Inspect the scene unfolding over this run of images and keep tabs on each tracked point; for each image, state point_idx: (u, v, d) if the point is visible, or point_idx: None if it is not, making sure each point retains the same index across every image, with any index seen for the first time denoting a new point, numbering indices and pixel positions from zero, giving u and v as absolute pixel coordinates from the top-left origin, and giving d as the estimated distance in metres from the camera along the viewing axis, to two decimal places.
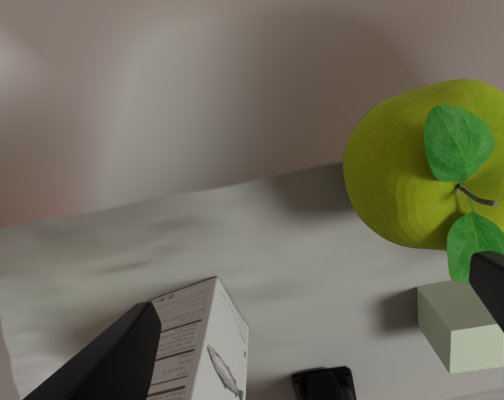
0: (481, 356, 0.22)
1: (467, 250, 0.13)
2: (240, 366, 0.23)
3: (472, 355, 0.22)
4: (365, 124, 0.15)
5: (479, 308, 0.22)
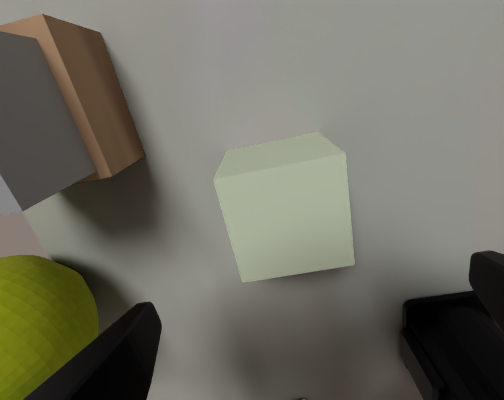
0: (310, 223, 0.11)
1: None
2: None
3: (306, 239, 0.11)
4: None
5: None
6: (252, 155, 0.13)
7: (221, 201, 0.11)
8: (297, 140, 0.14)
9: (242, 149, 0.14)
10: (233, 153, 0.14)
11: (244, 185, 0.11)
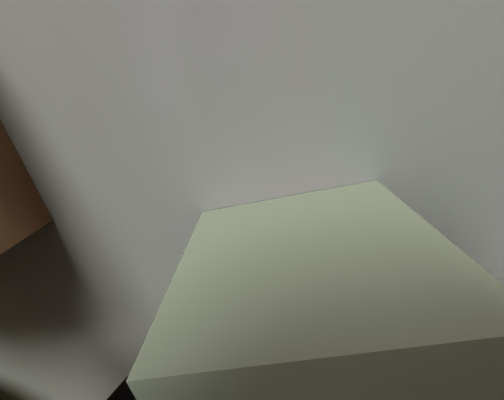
0: None
1: None
2: None
3: None
4: None
5: None
6: (248, 248, 0.06)
7: None
8: (342, 205, 0.07)
9: (230, 215, 0.07)
10: (211, 227, 0.07)
11: (220, 395, 0.04)
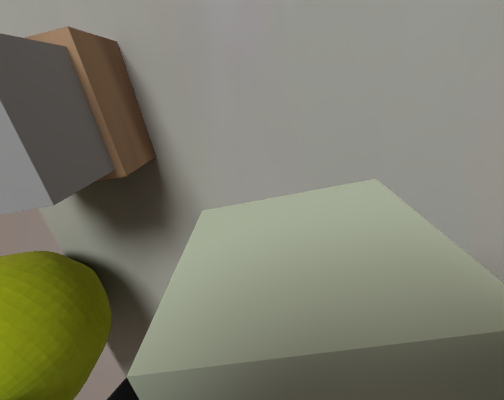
0: None
1: None
2: None
3: None
4: None
5: None
6: (248, 246, 0.06)
7: None
8: (341, 203, 0.07)
9: (230, 213, 0.07)
10: (211, 226, 0.07)
11: (220, 390, 0.04)
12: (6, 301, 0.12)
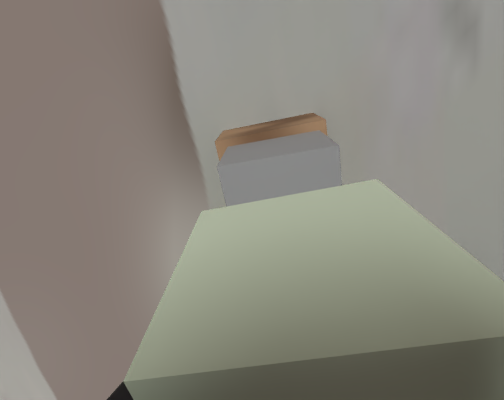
0: None
1: None
2: None
3: None
4: None
5: None
6: (248, 247, 0.06)
7: None
8: (342, 204, 0.07)
9: (229, 214, 0.07)
10: (210, 227, 0.07)
11: (219, 395, 0.03)
12: None
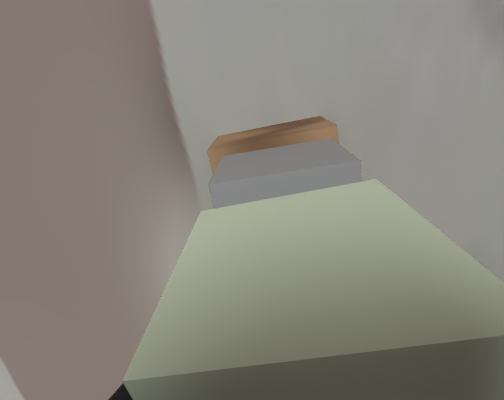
0: None
1: None
2: None
3: None
4: None
5: None
6: (247, 246, 0.06)
7: None
8: (341, 204, 0.07)
9: (229, 214, 0.07)
10: (210, 226, 0.07)
11: (218, 395, 0.03)
12: None
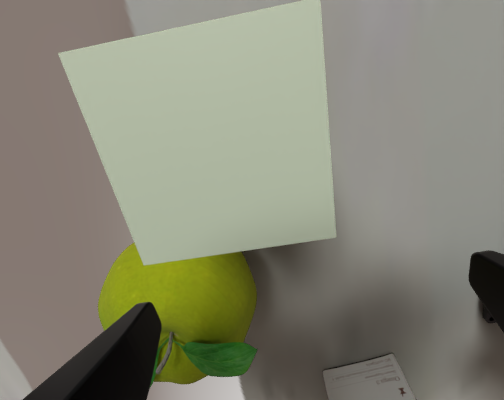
0: (255, 155, 0.06)
1: (212, 366, 0.14)
2: None
3: (249, 187, 0.06)
4: None
5: None
6: None
7: (82, 103, 0.06)
8: None
9: None
10: None
11: (122, 68, 0.05)
12: (211, 258, 0.15)
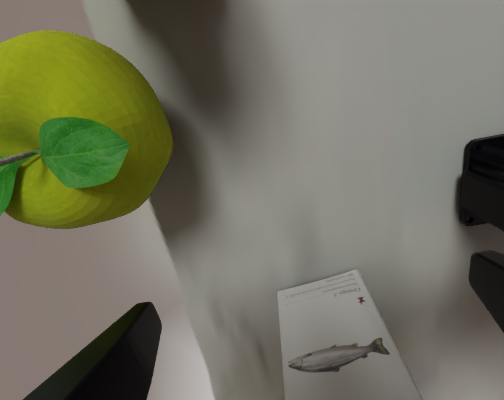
0: None
1: (71, 167, 0.10)
2: (358, 321, 0.18)
3: None
4: None
5: None
6: None
7: None
8: None
9: None
10: None
11: None
12: (87, 48, 0.11)
